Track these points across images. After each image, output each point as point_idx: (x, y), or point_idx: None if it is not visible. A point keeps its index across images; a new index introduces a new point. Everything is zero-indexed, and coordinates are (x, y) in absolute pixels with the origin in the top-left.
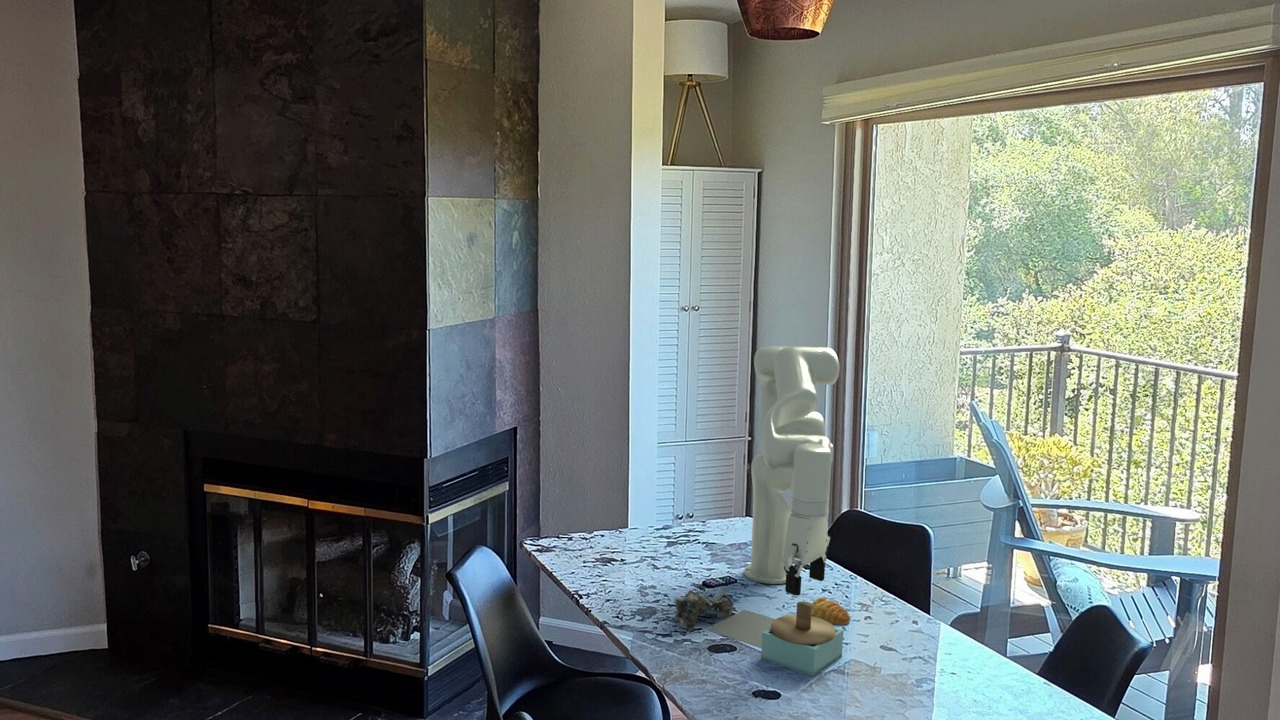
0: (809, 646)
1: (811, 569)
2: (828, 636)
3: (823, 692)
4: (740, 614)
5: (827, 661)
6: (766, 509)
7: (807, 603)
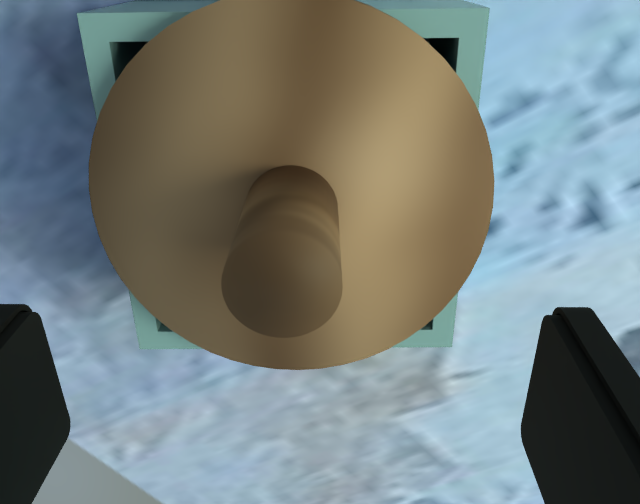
0: (146, 316)
1: (579, 402)
2: (283, 360)
3: (109, 347)
4: None
5: None
6: None
7: (315, 295)
